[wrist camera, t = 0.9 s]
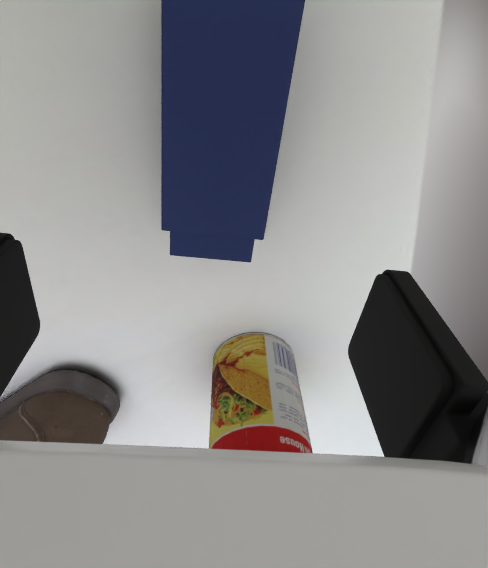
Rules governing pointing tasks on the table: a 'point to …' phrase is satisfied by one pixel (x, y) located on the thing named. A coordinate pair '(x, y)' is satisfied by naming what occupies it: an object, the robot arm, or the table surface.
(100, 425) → the loafer
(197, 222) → the blue stepped block
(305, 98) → the table surface
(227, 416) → the canned food
